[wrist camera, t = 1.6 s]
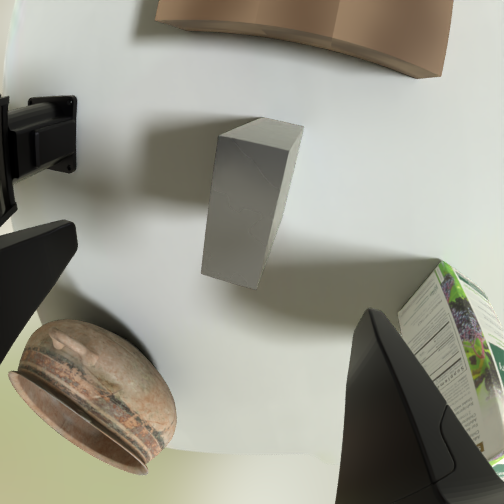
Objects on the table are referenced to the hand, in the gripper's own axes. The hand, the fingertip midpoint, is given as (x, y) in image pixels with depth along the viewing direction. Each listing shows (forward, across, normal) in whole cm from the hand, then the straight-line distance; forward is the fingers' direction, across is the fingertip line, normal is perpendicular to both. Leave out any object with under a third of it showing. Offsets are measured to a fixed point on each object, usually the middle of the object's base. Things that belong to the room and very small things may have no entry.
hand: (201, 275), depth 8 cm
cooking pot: (+12, +13, +25) cm, 31 cm away
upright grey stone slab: (+12, 0, 0) cm, 12 cm away
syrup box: (+12, -15, +6) cm, 20 cm away
